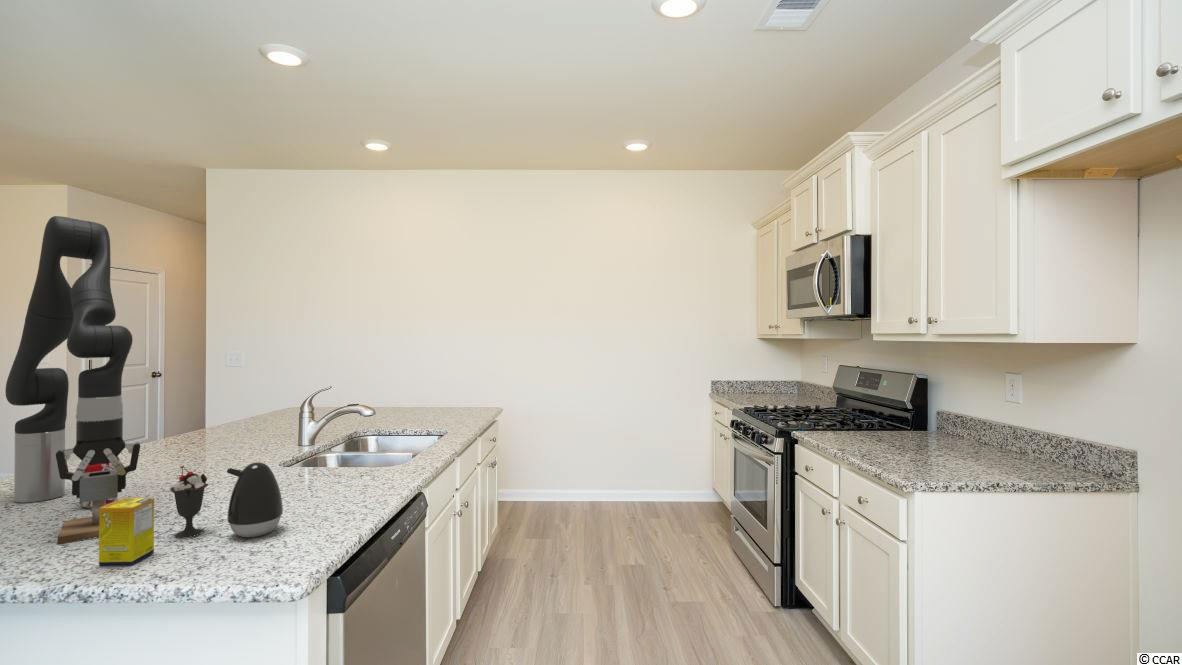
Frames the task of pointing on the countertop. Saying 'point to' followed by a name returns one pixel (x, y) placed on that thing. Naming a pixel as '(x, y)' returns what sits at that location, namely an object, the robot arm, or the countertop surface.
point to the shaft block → (81, 526)
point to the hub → (98, 485)
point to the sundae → (189, 499)
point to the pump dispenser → (254, 501)
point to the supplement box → (126, 531)
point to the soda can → (94, 469)
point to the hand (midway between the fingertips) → (99, 494)
